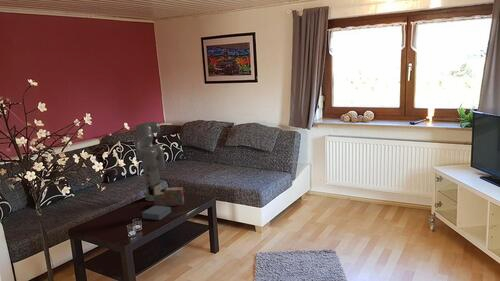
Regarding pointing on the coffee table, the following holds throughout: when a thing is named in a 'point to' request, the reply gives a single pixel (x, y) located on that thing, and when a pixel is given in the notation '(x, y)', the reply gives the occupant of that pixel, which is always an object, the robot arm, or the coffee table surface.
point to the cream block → (155, 190)
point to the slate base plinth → (156, 212)
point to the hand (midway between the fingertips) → (154, 192)
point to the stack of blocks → (170, 197)
